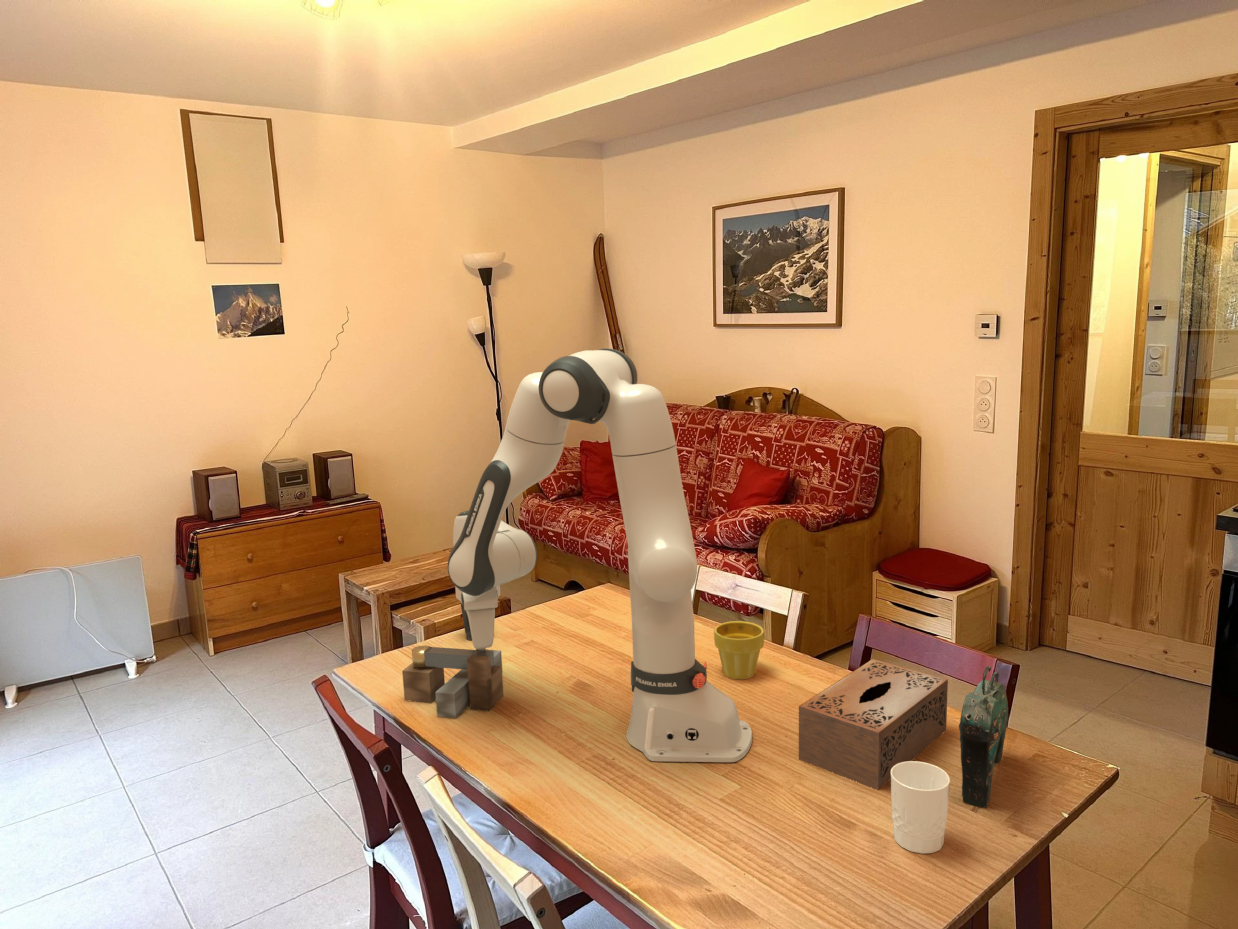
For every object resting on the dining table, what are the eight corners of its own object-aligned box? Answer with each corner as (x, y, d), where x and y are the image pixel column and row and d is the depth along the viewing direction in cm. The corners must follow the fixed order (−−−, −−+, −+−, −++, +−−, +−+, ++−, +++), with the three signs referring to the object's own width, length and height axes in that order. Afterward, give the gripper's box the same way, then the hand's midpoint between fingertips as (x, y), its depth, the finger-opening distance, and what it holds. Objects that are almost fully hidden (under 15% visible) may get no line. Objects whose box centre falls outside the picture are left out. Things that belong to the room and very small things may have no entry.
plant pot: (763, 684, 173) (763, 639, 172) (713, 682, 175) (712, 637, 174) (764, 664, 183) (764, 621, 182) (716, 662, 185) (715, 620, 184)
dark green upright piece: (992, 817, 126) (997, 690, 122) (946, 804, 129) (950, 681, 126) (1012, 757, 142) (1018, 644, 139) (971, 748, 146) (976, 637, 142)
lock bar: (409, 666, 171) (408, 652, 171) (418, 658, 175) (417, 645, 174) (487, 672, 167) (486, 657, 166) (495, 664, 171) (494, 650, 170)
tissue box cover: (877, 791, 134) (878, 732, 132) (798, 761, 144) (798, 706, 142) (946, 731, 152) (947, 679, 150) (871, 708, 162) (872, 659, 160)
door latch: (523, 674, 182) (521, 628, 181) (479, 721, 162) (476, 669, 160) (444, 667, 188) (441, 622, 186) (391, 711, 167) (387, 661, 165)
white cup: (934, 822, 125) (936, 759, 123) (957, 855, 117) (959, 789, 115) (881, 825, 125) (882, 762, 123) (900, 858, 117) (902, 792, 115)
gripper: (459, 573, 179) (462, 635, 181) (464, 605, 159) (468, 674, 162) (489, 571, 180) (492, 632, 183) (498, 602, 161) (501, 670, 163)
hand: (481, 652), depth 172 cm, fingers closed
